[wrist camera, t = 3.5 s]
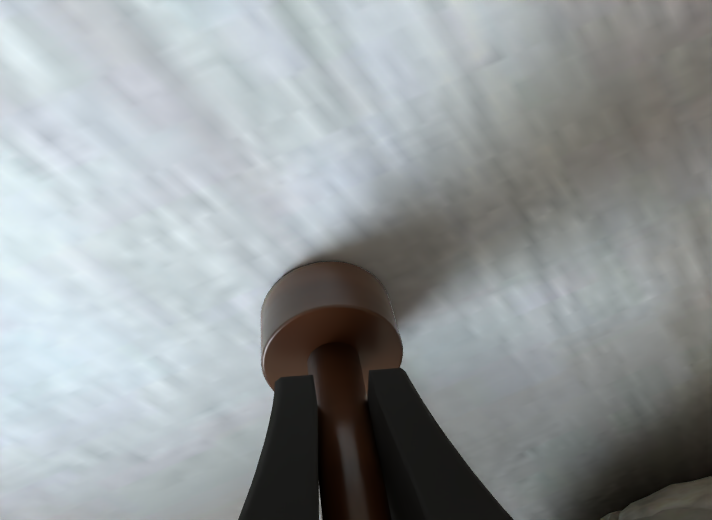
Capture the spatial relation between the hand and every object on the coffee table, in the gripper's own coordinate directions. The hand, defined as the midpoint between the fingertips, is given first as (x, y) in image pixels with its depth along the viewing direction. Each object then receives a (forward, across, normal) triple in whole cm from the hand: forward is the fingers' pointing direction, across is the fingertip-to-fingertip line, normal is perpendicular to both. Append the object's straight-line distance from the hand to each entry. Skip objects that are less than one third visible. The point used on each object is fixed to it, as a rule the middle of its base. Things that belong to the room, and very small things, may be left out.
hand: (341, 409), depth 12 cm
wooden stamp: (+3, 0, 0) cm, 3 cm away
